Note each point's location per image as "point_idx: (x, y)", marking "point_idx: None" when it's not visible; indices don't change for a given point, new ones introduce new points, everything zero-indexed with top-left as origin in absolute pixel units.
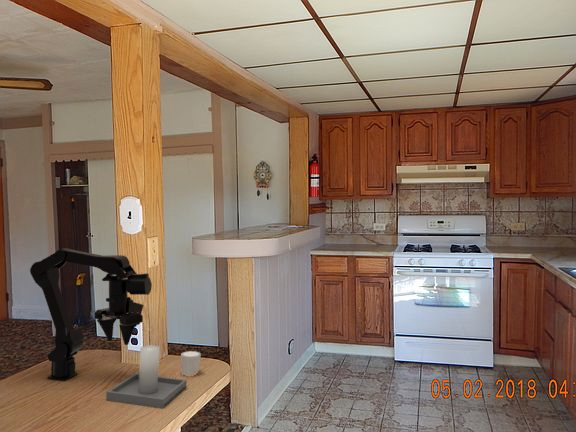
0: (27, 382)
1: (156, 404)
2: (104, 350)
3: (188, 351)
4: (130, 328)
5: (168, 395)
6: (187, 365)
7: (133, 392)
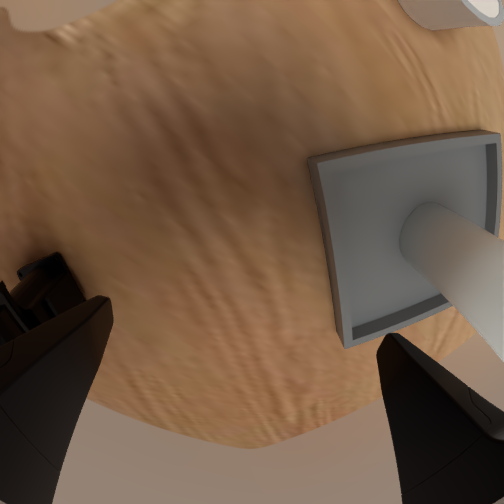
0: None
1: None
2: None
3: None
4: (485, 448)
5: None
6: (465, 26)
7: (395, 273)
